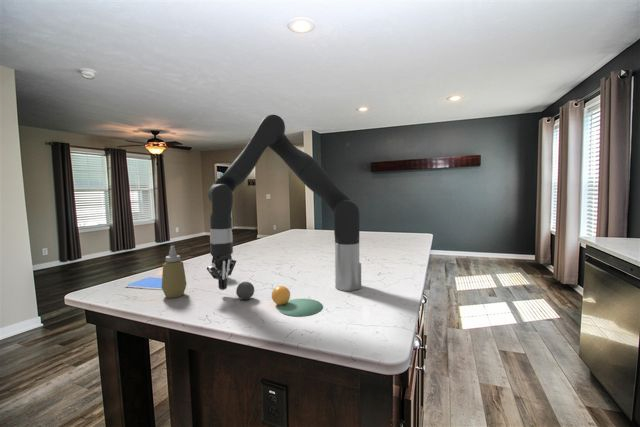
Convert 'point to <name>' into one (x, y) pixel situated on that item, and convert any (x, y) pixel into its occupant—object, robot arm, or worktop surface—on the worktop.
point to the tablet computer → (147, 283)
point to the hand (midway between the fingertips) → (222, 289)
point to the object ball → (281, 295)
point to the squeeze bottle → (173, 275)
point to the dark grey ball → (245, 290)
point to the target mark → (300, 307)
